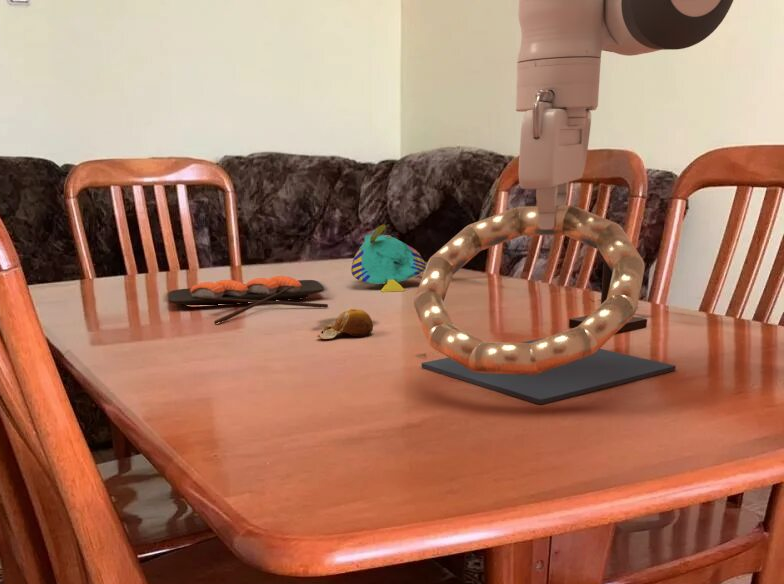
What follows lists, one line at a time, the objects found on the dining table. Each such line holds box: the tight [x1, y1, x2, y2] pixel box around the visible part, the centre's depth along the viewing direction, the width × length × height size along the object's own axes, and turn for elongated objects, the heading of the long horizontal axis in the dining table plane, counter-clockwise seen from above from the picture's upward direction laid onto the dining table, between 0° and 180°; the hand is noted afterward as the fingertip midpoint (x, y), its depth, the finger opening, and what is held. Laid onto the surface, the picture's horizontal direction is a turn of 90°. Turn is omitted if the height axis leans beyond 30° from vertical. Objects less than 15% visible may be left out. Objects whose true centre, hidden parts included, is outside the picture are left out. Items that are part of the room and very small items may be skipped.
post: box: [568, 258, 648, 335], centre depth 121 cm, size 8×8×10 cm
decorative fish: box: [351, 224, 427, 293], centre depth 167 cm, size 20×12×15 cm
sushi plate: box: [167, 275, 329, 324], centre depth 151 cm, size 29×30×4 cm
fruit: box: [316, 308, 374, 340], centre depth 125 cm, size 8×8×4 cm
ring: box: [413, 205, 646, 375], centre depth 91 cm, size 24×24×3 cm
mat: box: [421, 337, 677, 406], centre depth 103 cm, size 22×22×1 cm
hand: (551, 227), depth 96 cm, fingers closed on ring, 3 cm apart
